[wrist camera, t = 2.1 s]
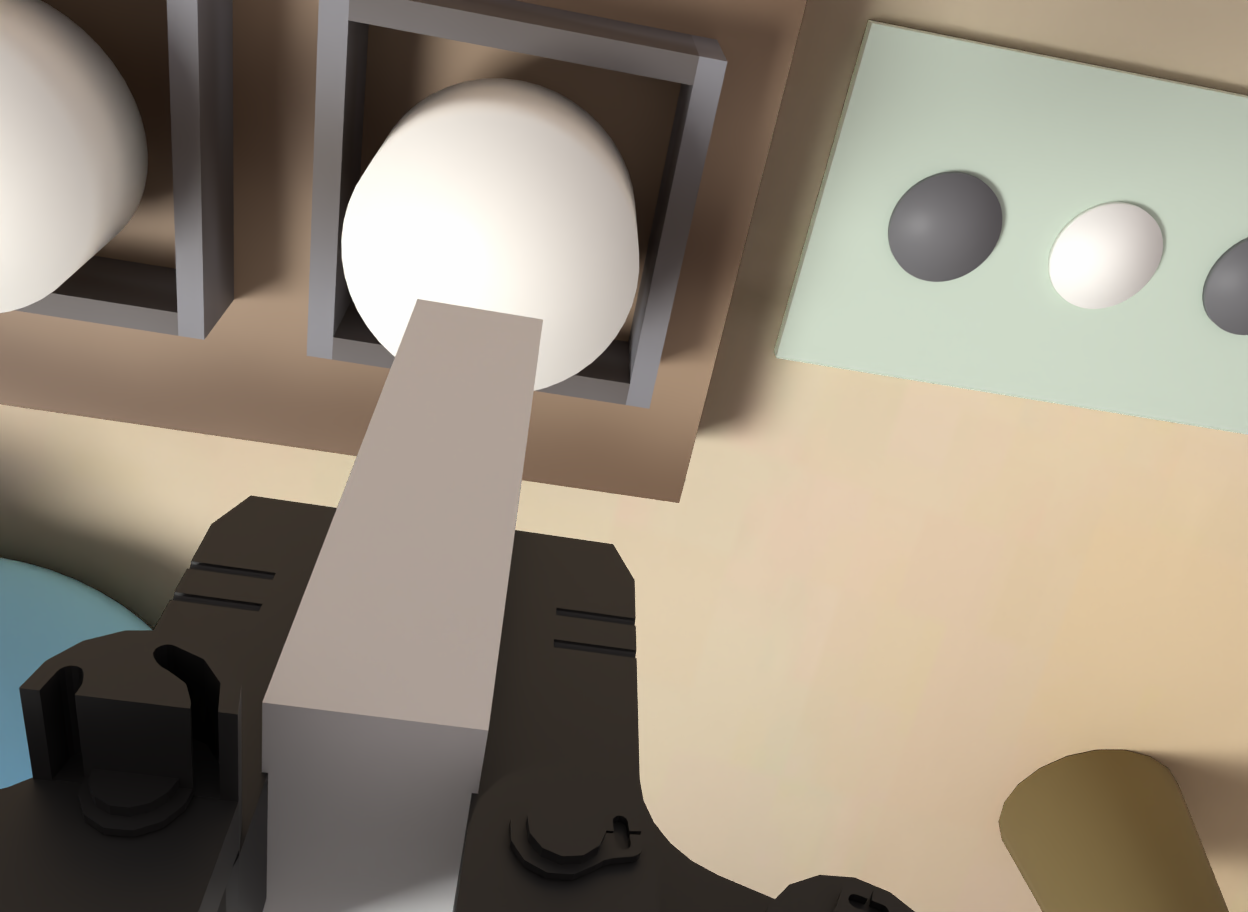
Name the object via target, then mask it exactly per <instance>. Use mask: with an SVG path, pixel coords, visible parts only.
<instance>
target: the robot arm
mask: <svg viewBox="0 0 1248 912" xmlns="http://www.w3.org/2000/svg"><path fill="white" fill-rule="evenodd" d="M542 324H543V319H537V318H531V317H525V316H519V315H513V314H507V313H501V312H495V311H489V310H482V309H476V308H470V307H464V306H458V305H452V304H446V303H440V302H434V301H428V300H422V299H417V301H416V304H415V306H414V309H413V312H412V314H411V317H410V319H409V322H408V325H407V327H406V330H405V333H404V335H403V338H402V340H401V343H400V346H399V348H398V351H397V353H396V356H395V359H394V361H393V364H392V366H391V369H390V372H389V374H388V377H387V379H386V382H385V385H384V387H383V390H382V392H381V395H380V398H379V400H378V403H377V405H376V408H375V411H374V413H373V416H372V418H371V421H370V424H369V426H368V429H367V431H366V434H365V437H364V439H363V442H362V444H361V447H360V450H359V452H358V455H357V457H356V460H355V463H354V465H353V468H352V470H351V473H350V476H349V478H348V481H347V483H346V486H345V489H344V491H343V494H342V496H341V499H340V502H339V504H338V507H337V508H333V507H326V506H319V505H312V504H305V503H298V502H291V501H284V500H277V499H270V498H264V497H257V496H250V497H248V498H247V499H246V500H244V501H243V502H241V503H240V504H239V505H237V506H236V507H235V508H233V509H232V510H230V511H229V512H228V513H226V514H225V515H223V516H222V517H221V518H219V519H218V520H217V521H215V522H214V523H212V524H211V526H210V528H209V530H208V531H207V533H206V535H205V537H204V539H203V541H202V542H201V544H200V546H199V548H198V550H197V552H196V553H195V555H194V557H193V559H192V561H191V567H190V569H187V570H186V572H185V574H184V575H183V577H182V579H181V581H180V583H179V585H178V586H177V588H176V590H175V592H174V598H173V600H170V601H169V603H168V605H167V606H166V608H165V610H164V612H163V614H162V616H161V617H160V619H159V621H158V623H157V625H156V627H155V628H154V630H125V631H121V632H117V633H113V634H108V635H104V636H100V637H96V638H92V639H88V640H84V641H82V642H80V643H78V644H76V645H74V646H72V647H70V648H68V649H67V650H65V651H63V652H61V653H59V654H57V655H55V656H53V657H52V658H50V659H48V660H46V661H45V662H44V663H43V664H42V665H41V666H40V667H39V668H38V669H37V670H36V671H35V672H34V673H33V674H32V675H31V676H30V677H29V678H28V679H27V680H26V681H25V682H24V683H23V684H22V685H21V686H20V687H19V692H20V698H21V704H22V711H23V717H24V724H25V730H26V737H27V743H28V749H29V756H30V762H31V769H32V775H33V777H32V778H30V779H27V780H25V781H22V782H20V783H17V784H15V785H12V786H9V787H7V788H2V789H0V912H914V911H913V910H912V909H911V908H909V907H908V906H907V905H905V904H904V903H903V902H902V901H900V900H899V899H898V898H897V897H895V896H894V895H893V894H892V893H890V892H888V891H885V890H883V889H881V888H878V887H876V886H873V885H871V884H869V883H866V882H864V881H861V880H859V879H857V878H852V877H839V876H827V875H818V876H815V877H812V878H809V879H806V880H803V881H799V882H796V883H793V884H790V885H789V886H788V887H787V888H786V889H785V890H784V891H783V892H782V893H781V894H780V895H779V896H778V897H777V898H776V899H773V898H771V897H768V896H766V895H764V894H761V893H759V892H756V891H754V890H752V889H749V888H747V887H745V886H742V885H740V884H738V883H735V882H733V881H730V880H728V879H726V878H723V877H721V876H719V875H717V874H715V873H713V872H711V871H709V870H707V869H705V868H704V867H702V866H700V865H698V864H696V863H694V862H693V861H691V860H690V859H689V858H688V857H686V856H685V855H684V854H683V853H681V852H680V851H679V850H678V849H677V848H675V847H674V846H673V845H672V844H671V843H670V842H669V841H668V840H667V839H666V837H665V836H664V835H663V833H662V832H661V831H660V830H659V828H658V827H657V826H656V825H655V823H654V822H653V820H652V818H651V816H650V814H649V811H648V809H647V807H646V805H645V803H644V801H643V796H642V790H641V784H640V777H639V738H638V699H637V660H636V658H635V655H636V626H635V581H634V579H633V577H632V575H631V574H630V572H629V570H628V568H627V567H626V565H625V563H624V562H623V560H622V558H621V557H620V555H619V553H618V552H617V550H616V548H615V547H614V545H613V544H607V543H600V542H593V541H586V540H579V539H572V538H566V537H559V536H552V535H545V534H538V533H531V532H524V531H517V530H515V527H516V519H517V512H518V504H519V497H520V489H521V482H522V474H523V467H524V459H525V452H526V444H527V437H528V429H529V422H530V414H531V407H532V399H533V392H534V384H535V377H536V369H537V362H538V354H539V347H540V339H541V332H542Z"/></svg>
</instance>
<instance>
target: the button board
mask: <svg viewBox="0 0 1248 912" xmlns="http://www.w3.org/2000/svg"><path fill="white" fill-rule="evenodd" d="M41 1H43V2H45V3H47V4H48V5H50V6H52V7H53V8H55V9H56V10H58V11H59V12H61V13H62V14H64V15H65V16H67V17H68V18H69V19H70V20H72V21H73V22H74V23H75V24H77V25H78V26H79V27H80V28H81V29H83V30H84V31H85V32H86V33H87V34H88V35H89V36H90V37H91V38H92V39H93V40H94V41H95V42H96V43H97V44H98V45H99V46H100V47H101V49H102V50H103V51H104V52H105V53H106V55H107V56H108V57H109V58H110V60H111V61H112V62H113V63H114V65H115V66H116V68H117V69H118V71H119V73H120V74H121V76H122V77H123V79H124V80H125V82H126V84H127V86H128V88H129V90H130V92H131V94H132V96H133V98H134V100H135V102H136V105H137V108H138V110H139V113H140V116H141V119H142V123H143V127H144V131H145V135H146V142H147V151H148V171H147V177H146V183H145V189H144V192H143V195H142V198H141V201H140V203H139V205H138V207H137V209H136V211H135V213H134V215H133V217H132V218H131V219H130V221H129V222H128V223H127V225H126V226H125V227H124V229H123V230H121V231H120V232H119V233H118V234H117V235H116V236H115V237H114V238H113V239H112V240H111V241H110V242H109V243H107V244H106V245H105V246H104V247H103V248H102V249H101V250H100V251H98V252H97V253H96V254H95V255H94V256H93V257H92V258H91V259H89V260H88V261H87V262H86V263H85V264H84V265H83V266H82V267H80V268H79V269H78V270H77V271H76V272H75V273H74V274H73V275H72V276H70V277H69V278H68V279H67V280H66V281H65V282H64V283H63V284H61V285H60V286H59V287H58V288H57V289H56V290H55V291H53V292H52V293H50V294H49V295H47V296H46V297H44V298H43V299H41V300H39V301H37V302H35V303H33V304H30V305H28V306H26V307H23V308H20V309H16V310H13V311H9V312H3V313H0V404H2V405H9V406H16V407H23V408H30V409H37V410H43V411H50V412H57V413H64V414H71V415H78V416H85V417H92V418H98V419H105V420H112V421H119V422H126V423H133V424H140V425H147V426H153V427H160V428H167V429H174V430H181V431H188V432H195V433H202V434H208V435H215V436H222V437H229V438H236V439H243V440H250V441H257V442H264V443H270V444H277V445H284V446H291V447H298V448H305V449H312V450H319V451H325V452H332V453H339V454H346V455H353V456H357V455H358V452H359V450H360V447H361V444H362V442H363V439H364V437H365V434H366V431H367V429H368V426H369V424H370V421H371V418H372V416H373V413H374V411H375V408H376V405H377V403H378V400H379V398H380V395H381V392H382V390H383V387H384V385H385V382H386V379H387V377H388V374H389V372H390V369H391V366H392V364H393V361H394V359H395V356H393V355H392V354H391V353H390V352H389V351H388V350H387V349H386V348H385V347H384V346H383V345H382V344H381V343H380V342H379V341H378V340H377V338H376V337H375V336H374V335H373V333H372V332H371V331H370V330H369V328H368V327H367V325H366V324H365V322H364V321H363V319H362V317H361V316H360V314H359V312H358V311H357V308H356V306H355V304H354V302H353V299H352V297H351V295H350V292H349V289H348V286H347V282H346V279H345V275H344V269H343V262H342V243H341V239H342V231H343V222H344V218H345V214H346V211H347V207H348V203H349V201H350V198H351V196H352V194H353V192H354V189H355V187H356V185H357V183H358V182H359V180H360V179H361V177H362V175H363V174H364V172H365V171H366V169H367V167H368V166H369V164H370V163H371V161H372V160H373V158H374V157H375V155H376V153H377V152H378V150H379V149H380V147H381V146H382V144H383V143H384V141H385V139H386V138H387V136H388V135H389V133H390V132H391V130H392V129H393V127H394V126H395V125H396V124H397V123H398V122H399V120H400V119H401V118H402V117H403V116H404V115H405V114H406V113H407V112H408V111H409V110H411V109H412V108H413V107H414V106H415V105H416V104H417V103H419V102H421V101H422V100H424V99H425V98H427V97H428V96H430V95H431V94H433V93H435V92H438V91H440V90H442V89H444V88H446V87H449V86H452V85H455V84H458V83H462V82H465V81H471V80H478V79H486V78H505V79H513V80H521V81H525V82H529V83H533V84H537V85H540V86H542V87H545V88H547V89H550V90H552V91H555V92H557V93H559V94H561V95H562V96H564V97H566V98H568V99H570V100H571V101H573V102H574V103H576V104H577V105H578V106H580V107H581V108H582V109H584V110H585V111H586V112H588V113H589V114H590V115H591V116H592V117H593V118H594V119H595V120H596V121H597V122H598V123H599V124H600V125H601V126H602V128H603V129H604V130H605V131H606V133H607V134H608V135H609V136H610V138H611V139H612V140H613V142H614V144H615V145H616V147H617V149H618V150H619V152H620V154H621V156H622V158H623V160H624V163H625V165H626V167H627V170H628V173H629V176H630V180H631V183H632V187H633V193H634V200H635V208H636V221H637V234H638V246H639V275H638V283H637V289H636V293H635V297H634V300H633V304H632V307H631V309H630V311H629V314H628V316H627V318H626V321H625V323H624V324H623V326H622V328H621V329H620V331H619V333H618V334H617V336H616V337H615V339H614V340H613V341H612V342H611V344H610V345H609V346H608V347H607V349H606V350H605V351H604V352H603V353H602V354H601V355H600V356H599V357H597V358H596V359H595V360H594V361H593V362H592V363H591V364H589V365H588V366H587V367H585V368H584V369H583V370H581V371H580V372H578V373H577V374H575V375H573V376H571V377H569V378H568V379H566V380H564V381H562V382H559V383H557V384H554V385H552V386H549V387H547V388H543V389H539V390H535V391H534V392H533V399H532V407H531V414H530V422H529V429H528V437H527V444H526V452H525V459H524V467H523V474H522V480H525V481H532V482H539V483H546V484H552V485H559V486H566V487H573V488H580V489H587V490H594V491H601V492H607V493H614V494H621V495H628V496H635V497H642V498H649V499H656V500H662V501H669V502H676V503H679V501H680V497H681V493H682V489H683V486H684V482H685V478H686V474H687V470H688V466H689V462H690V458H691V454H692V450H693V446H694V442H695V438H696V435H697V431H698V427H699V423H700V419H701V415H702V411H703V407H704V403H705V399H706V395H707V391H708V387H709V384H710V380H711V376H712V372H713V368H714V364H715V360H716V356H717V352H718V348H719V344H720V340H721V336H722V333H723V329H724V325H725V321H726V317H727V313H728V309H729V305H730V301H731V297H732V293H733V289H734V285H735V282H736V278H737V274H738V270H739V266H740V262H741V258H742V254H743V250H744V246H745V242H746V238H747V234H748V231H749V227H750V223H751V219H752V215H753V211H754V207H755V203H756V199H757V195H758V191H759V187H760V183H761V180H762V176H763V172H764V168H765V164H766V160H767V156H768V152H769V148H770V144H771V140H772V136H773V133H774V129H775V125H776V121H777V117H778V113H779V109H780V105H781V101H782V97H783V93H784V89H785V85H786V82H787V78H788V74H789V70H790V66H791V62H792V58H793V54H794V50H795V46H796V42H797V38H798V34H799V31H800V27H801V23H802V19H803V15H804V11H805V7H806V3H807V0H41Z"/></svg>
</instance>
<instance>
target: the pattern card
mask: <svg viewBox="0 0 1248 912" xmlns="http://www.w3.org/2000/svg"><path fill="white" fill-rule="evenodd" d="M774 353H775V356H776V358H779V359H785V360H791V361H797V362H804V363H810V364H816V365H822V366H828V367H835V368H841V369H847V370H853V371H859V372H865V373H872V374H878V375H884V376H890V377H896V378H902V379H909V380H915V381H921V382H927V383H933V384H939V385H946V386H952V387H958V388H964V389H970V390H976V391H983V392H989V393H995V394H1001V395H1007V396H1013V397H1020V398H1026V399H1032V400H1038V401H1044V402H1050V403H1057V404H1063V405H1069V406H1075V407H1081V408H1087V409H1094V410H1100V411H1106V412H1112V413H1118V414H1124V415H1131V416H1137V417H1143V418H1149V419H1155V420H1161V421H1168V422H1174V423H1180V424H1186V425H1192V426H1198V427H1205V428H1211V429H1217V430H1223V431H1229V432H1235V433H1242V434H1248V96H1247V95H1242V94H1237V93H1232V92H1227V91H1222V90H1217V89H1212V88H1207V87H1202V86H1197V85H1192V84H1187V83H1182V82H1177V81H1172V80H1167V79H1162V78H1157V77H1152V76H1147V75H1142V74H1137V73H1132V72H1127V71H1122V70H1117V69H1112V68H1107V67H1102V66H1097V65H1092V64H1087V63H1082V62H1077V61H1072V60H1067V59H1062V58H1057V57H1052V56H1047V55H1042V54H1037V53H1032V52H1027V51H1022V50H1017V49H1012V48H1007V47H1002V46H997V45H992V44H987V43H982V42H977V41H972V40H967V39H962V38H957V37H952V36H947V35H942V34H937V33H932V32H927V31H922V30H917V29H912V28H907V27H902V26H897V25H892V24H887V23H882V22H877V21H872V20H868V22H867V26H866V29H865V33H864V36H863V40H862V43H861V47H860V50H859V54H858V57H857V61H856V64H855V68H854V71H853V75H852V78H851V82H850V85H849V89H848V92H847V96H846V99H845V103H844V106H843V110H842V113H841V117H840V121H839V124H838V128H837V131H836V135H835V138H834V142H833V145H832V149H831V152H830V156H829V159H828V163H827V166H826V170H825V173H824V177H823V180H822V184H821V187H820V191H819V194H818V198H817V201H816V205H815V208H814V212H813V215H812V219H811V222H810V226H809V229H808V233H807V236H806V240H805V243H804V247H803V250H802V254H801V257H800V261H799V264H798V268H797V271H796V275H795V278H794V282H793V285H792V289H791V292H790V296H789V299H788V303H787V306H786V310H785V313H784V317H783V320H782V324H781V328H780V331H779V335H778V338H777V342H776V345H775V349H774Z"/></svg>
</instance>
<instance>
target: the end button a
mask: <svg viewBox="0 0 1248 912" xmlns="http://www.w3.org/2000/svg"><path fill="white" fill-rule="evenodd" d="M341 243H342V262H343V269H344V275H345V279H346V282H347V286H348V289H349V292H350V295H351V297H352V299H353V302H354V304H355V306H356V308H357V311H358V312H359V314H360V316H361V317H362V319H363V321H364V322H365V324H366V325H367V327H368V328H369V330H370V331H371V332H372V333H373V335H374V336H375V337H376V338H377V340H378V341H379V342H380V343H381V344H382V345H383V346H384V347H385V348H386V349H387V350H388V351H389V352H390V353H391V354H392V355H393V356H396V353H397V351H398V348H399V346H400V343H401V340H402V338H403V335H404V333H405V330H406V327H407V325H408V322H409V319H410V317H411V314H412V312H413V309H414V306H415V304H416V301H417V299H422V300H428V301H434V302H440V303H446V304H452V305H458V306H464V307H470V308H476V309H482V310H489V311H495V312H501V313H507V314H513V315H519V316H525V317H531V318H537V319H543V324H542V332H541V339H540V347H539V354H538V362H537V369H536V377H535V384H534V391H535V390H539V389H543V388H547V387H549V386H552V385H554V384H557V383H559V382H562V381H564V380H566V379H568V378H569V377H571V376H573V375H575V374H577V373H578V372H580V371H581V370H583V369H584V368H585V367H587V366H588V365H589V364H591V363H592V362H593V361H594V360H595V359H596V358H597V357H599V356H600V355H601V354H602V353H603V352H604V351H605V350H606V349H607V347H608V346H609V345H610V344H611V342H612V341H613V340H614V339H615V337H616V336H617V334H618V333H619V331H620V329H621V328H622V326H623V324H624V323H625V321H626V318H627V316H628V314H629V311H630V309H631V307H632V304H633V300H634V297H635V293H636V289H637V283H638V275H639V246H638V234H637V221H636V208H635V200H634V193H633V187H632V183H631V180H630V176H629V173H628V170H627V167H626V165H625V163H624V160H623V158H622V156H621V154H620V152H619V150H618V149H617V147H616V145H615V144H614V142H613V140H612V139H611V138H610V136H609V135H608V134H607V133H606V131H605V130H604V129H603V128H602V126H601V125H600V124H599V123H598V122H597V121H596V120H595V119H594V118H593V117H592V116H591V115H590V114H589V113H588V112H586V111H585V110H584V109H582V108H581V107H580V106H578V105H577V104H576V103H574V102H573V101H571V100H570V99H568V98H566V97H564V96H562V95H561V94H559V93H557V92H555V91H552V90H550V89H547V88H545V87H542V86H540V85H537V84H533V83H529V82H525V81H521V80H513V79H505V78H486V79H478V80H471V81H465V82H462V83H458V84H455V85H452V86H449V87H446V88H444V89H442V90H440V91H438V92H435V93H433V94H431V95H430V96H428V97H427V98H425V99H424V100H422V101H421V102H419V103H417V104H416V105H415V106H414V107H413V108H412V109H411V110H409V111H408V112H407V113H406V114H405V115H404V116H403V117H402V118H401V119H400V120H399V122H398V123H397V124H396V125H395V126H394V127H393V129H392V130H391V132H390V133H389V135H388V136H387V138H386V139H385V141H384V143H383V144H382V146H381V147H380V149H379V150H378V152H377V153H376V155H375V157H374V158H373V160H372V161H371V163H370V164H369V166H368V167H367V169H366V171H365V172H364V174H363V175H362V177H361V179H360V180H359V182H358V183H357V185H356V187H355V189H354V192H353V194H352V196H351V198H350V201H349V203H348V207H347V211H346V214H345V218H344V222H343V231H342V239H341Z"/></svg>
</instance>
